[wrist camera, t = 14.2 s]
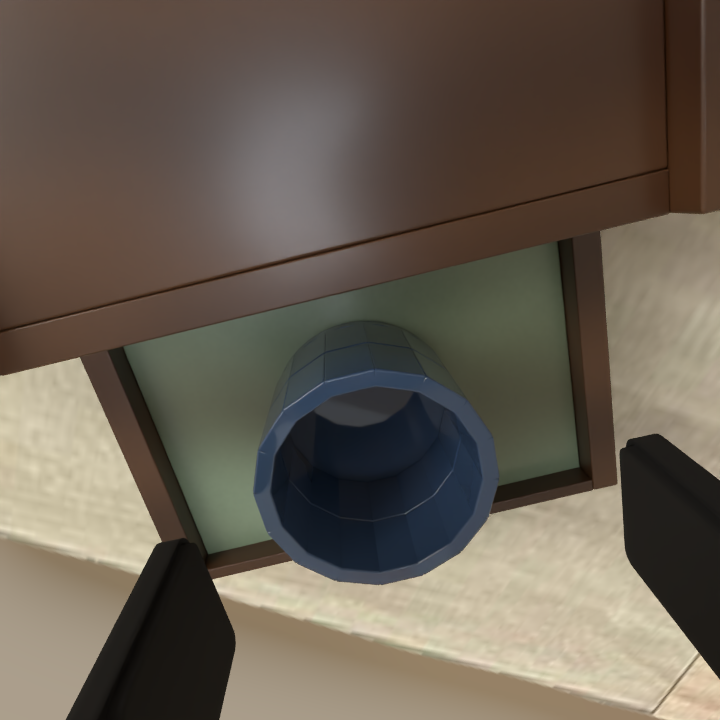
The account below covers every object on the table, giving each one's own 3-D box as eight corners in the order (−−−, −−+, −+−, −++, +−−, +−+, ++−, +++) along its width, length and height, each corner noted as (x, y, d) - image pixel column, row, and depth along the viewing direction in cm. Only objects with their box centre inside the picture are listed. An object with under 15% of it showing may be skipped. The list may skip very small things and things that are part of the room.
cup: (434, 300, 18) (478, 343, 12) (464, 461, 20) (512, 555, 15) (252, 344, 18) (220, 405, 13) (301, 499, 20) (292, 606, 15)
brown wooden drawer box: (60, 102, 19) (-326, -35, 8) (504, -10, 19) (764, -319, 8) (214, 499, 25) (121, 745, 14) (552, 420, 25) (738, 603, 14)
